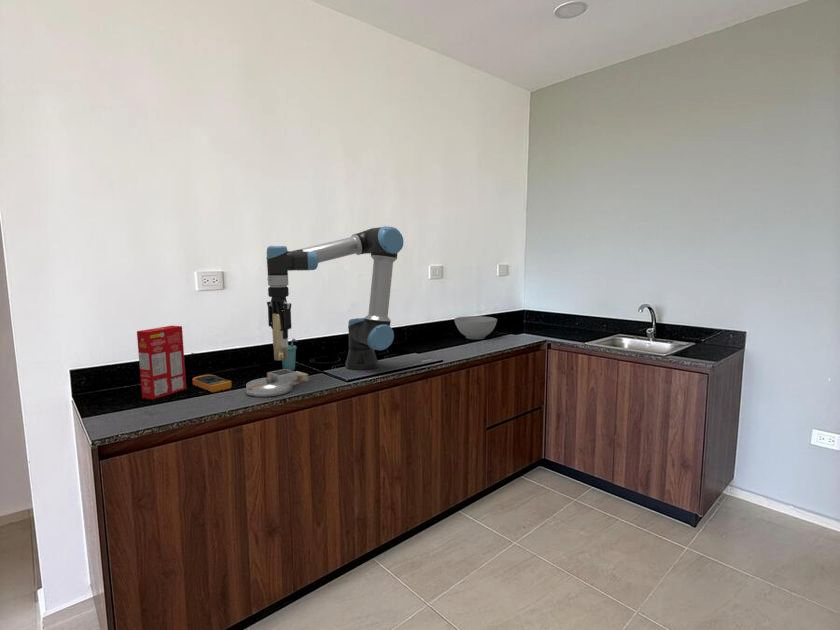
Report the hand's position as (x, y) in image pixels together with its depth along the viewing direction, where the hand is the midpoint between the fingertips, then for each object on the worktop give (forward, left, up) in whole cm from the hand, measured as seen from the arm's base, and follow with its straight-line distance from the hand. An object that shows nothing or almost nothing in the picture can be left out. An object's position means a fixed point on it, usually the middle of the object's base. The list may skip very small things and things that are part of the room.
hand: (280, 345), depth 179 cm
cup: (-19, -23, -17) cm, 35 cm away
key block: (-9, -4, -17) cm, 20 cm away
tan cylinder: (0, 0, -5) cm, 5 cm away
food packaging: (+33, -27, -17) cm, 47 cm away
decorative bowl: (-143, -6, -17) cm, 144 cm away
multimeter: (+17, -23, -18) cm, 34 cm away
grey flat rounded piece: (+5, 0, -17) cm, 18 cm away
